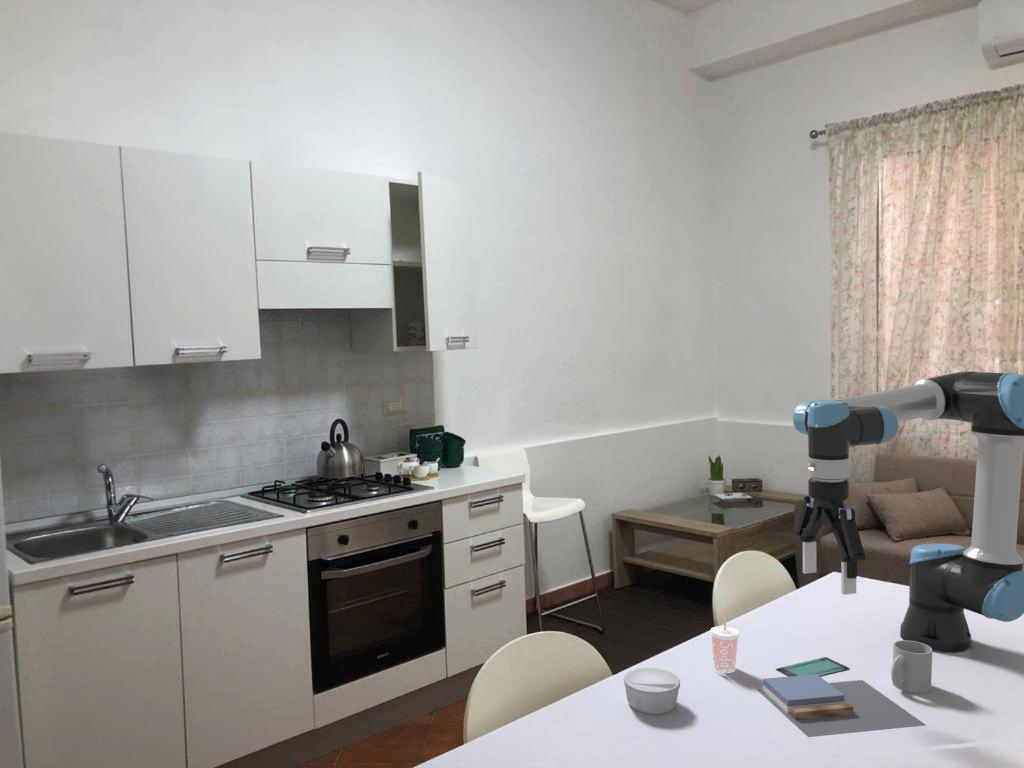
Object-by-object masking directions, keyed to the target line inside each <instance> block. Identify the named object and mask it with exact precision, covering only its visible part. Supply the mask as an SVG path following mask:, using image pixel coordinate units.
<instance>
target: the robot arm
mask: <svg viewBox="0 0 1024 768" xmlns="http://www.w3.org/2000/svg"><path fill="white" fill-rule="evenodd" d="M793 411H794V412H793V414H792V422H793V426H794V428H795V429H796V431H798V433H800V434H802V435H807V436H808V437H807V442H808V444H807V447H808V451H807V453H808V463H807V466H808V476H809V477H810V478H809V479H808V481H807V485H808V489H807V490H808V495H805V496H804V497H803V506H802V510H801V513H800V516H799V520H798V523H797V526H796V530H795V535H796V536H797V537H799V539H800V541H801V543H802V544H801V546H802V548H801V549H802V552H801V553H802V573H803V574H815V573H817V540H818V539H817V537H816V536H817V534H818V533H819V531H820V530H821V529H822V526H823V525H825V526H827V527H828V529H829V530H830V531H832V533H833V535H834V538H835V539H836V543H837V546H838V547H839V549H840V553H841V554H842V559H841V561H840V562H841V564H840V565H841V571H840V573H841V579H840V580H841V581H840V582H841V589H840V591H841V594H842V595H852V594H853V595H854V594H857V577H858V562H859V561H861V562H862V561H865V560H866V554H865V551H864V547H863V543H862V540H861V537H860V533H859V530H858V525H857V522H856V513H855V512H856V511H855V509H854V508H845V507H844V505H845V504H844V501H846V500H847V499H848V498H849V497H850V493H849V492H850V491H849V490H850V489H849V487H850V485H849V481H848V478H849V477H850V459H849V458H850V448H851V447H859V446H860V447H861V446H867V445H877V446H878V445H880V444H884V443H888V442H890V441H892V440H894V439H895V437H896V436H897V434H898V431H899V423H900V422H907V421H911V420H912V421H913V420H917V419H920V418H921V419H923V420H925V421H934V420H948V421H949V420H951V421H957V422H958V421H959V422H966V423H971V429H970V430H971V431H970V432H971V434H972V435H973V436H974V437H975V438H976V440H977V456H976V467H975V468H976V469H975V481H974V482H975V485H974V499H973V515H972V526H971V527H972V529H971V542H970V543H971V545H970V546H969V547H968V548H966V547H965V546H963V545H960V544H959V545H958V544H953V543H952V544H951V543H924V544H919V545H915V546H914V547H913V548H912V549H911V551H910V552H911V553H910V561H909V586H908V587H909V590H908V591H909V592H908V593H909V595H908V596H909V599H908V600H909V601H908V607H907V609H906V613H905V615H904V617H903V621H902V622H901V624H900V626H899V627H900V631H899V634H900V635H899V636H900V638H901V639H902V640H908V641H916V642H920V643H923V644H926V645H928V646H930V647H931V648H932V651H935V652H940V653H941V652H944V653H958V652H964V651H967V650H969V649H971V647H972V634H971V631H970V628H969V625H968V622H967V619H966V615H965V610H967V611H970V612H972V613H976V614H978V615H981V616H983V617H985V618H988V619H989V620H990V619H991V620H993V619H994V620H995V621H999V622H1004V623H1008V622H1013V621H1016V620H1017V619H1020V618H1021V617H1022V616H1024V571H1023V569H1024V568H1023V567H1024V559H1023V558H1022V557H1021V556H1020V555H1019V554H1018V552H1017V538H1018V537H1017V536H1018V524H1019V509H1020V498H1021V497H1020V495H1021V483H1022V471H1023V470H1022V469H1023V467H1022V466H1023V454H1024V374H1021V373H1020V374H1019V373H1013V372H985V371H982V372H980V371H959V372H953V373H947V374H941V375H938V376H932V377H929V378H923V379H920V380H918V381H916V382H915V383H914V384H913V385H910V386H904V387H898V388H893V389H888V390H881V391H877V392H876V391H875V392H871V393H866V394H860V395H854V396H849V397H848V396H847V397H845V398H844V397H843V398H837V399H831V400H830V399H829V400H826V399H825V400H824V399H823V400H822V399H821V400H812V401H811V400H810V401H808V400H807V401H803V402H800V403H799V404H798V405H797V406H796V407H795V409H794V410H793Z"/></svg>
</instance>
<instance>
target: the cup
mask: <svg viewBox="0 0 1024 768" xmlns="http://www.w3.org/2000/svg"><path fill="white" fill-rule="evenodd" d="M892 653H893V654H892V665H891V671H890V672H891V673H890V674H891V675H890V676H891V681H892V686H894V687H895V688H896V689H898V690H900V691H903V692H906V693H910V694H919V695H921V694H922V695H923V694H929V693H930V692H931V690H932V672H933V670H932V669H933V650H932V648H931V647H930V646H928V645H926V644H923V643H920V642H916V641H908V640H903V639H902V640H896V641H894V642H893V651H892Z"/></svg>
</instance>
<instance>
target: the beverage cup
mask: <svg viewBox="0 0 1024 768" xmlns="http://www.w3.org/2000/svg"><path fill="white" fill-rule="evenodd" d="M710 635H711V643H712V644H711V646H712V665H713V672H714V673H715V674H717V675H720V676H727V674H730V673H734V672H735V671H736V663H737V653H738V652H737V651H738V641H739V640H738V638H739V637H740V631H739V630H738V629H736V628H735V627H731V626H727V608H726V607H725V608H723V625H720V626H718V625H717V626H714V627H711V628H710Z"/></svg>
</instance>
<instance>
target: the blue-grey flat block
mask: <svg viewBox="0 0 1024 768" xmlns="http://www.w3.org/2000/svg"><path fill="white" fill-rule="evenodd" d="M829 683H830V682H828V681H826V680H825V679H824V678H823V677H822V676H821V677H820V676H819V675H817V674H812V675H800V676H789V677H788V676H778V677H767V678H763V679H762V689H763V691H764V692H765V693H766V694H767V695H768V696H769V697H770V698H772V699H773V700H774V701H775V702H776V703H777V704H778V705H779V706H780V707H782V708H783V709H784V710H785V711H786V712H787V713H791V712H792V709H796V708H806V707H817V706H828V705H838V704H844V694H842V693H841V692H840V691H838V690H837V689H836V688H834V687H833V686H832V685H830V684H829Z"/></svg>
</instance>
